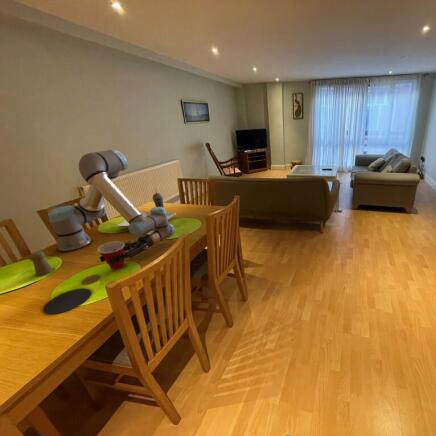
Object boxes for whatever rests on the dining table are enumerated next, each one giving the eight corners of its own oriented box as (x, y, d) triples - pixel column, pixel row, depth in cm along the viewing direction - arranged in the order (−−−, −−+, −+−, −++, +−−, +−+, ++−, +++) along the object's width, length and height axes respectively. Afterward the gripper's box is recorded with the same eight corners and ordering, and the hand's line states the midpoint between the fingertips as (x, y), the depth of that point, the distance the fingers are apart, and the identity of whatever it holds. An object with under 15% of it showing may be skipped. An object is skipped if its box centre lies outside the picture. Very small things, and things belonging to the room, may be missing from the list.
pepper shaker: (52, 267, 122) (43, 248, 118) (54, 271, 118) (45, 252, 114) (35, 272, 118) (25, 253, 113) (37, 277, 114) (27, 257, 110)
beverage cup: (155, 213, 190) (148, 189, 182) (157, 210, 196) (151, 187, 189) (165, 212, 192) (159, 188, 184) (166, 209, 198) (161, 186, 190)
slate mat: (35, 307, 96) (35, 307, 96) (78, 285, 108) (78, 285, 108) (56, 318, 90) (55, 318, 90) (98, 293, 103) (98, 293, 103)
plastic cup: (117, 274, 115) (109, 252, 110) (99, 271, 117) (91, 250, 112) (136, 262, 125) (129, 241, 120) (119, 259, 127) (112, 239, 122)
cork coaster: (79, 282, 111) (79, 281, 110) (93, 274, 116) (93, 274, 115) (87, 285, 108) (86, 284, 108) (101, 277, 113) (101, 277, 113)
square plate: (153, 232, 158) (152, 227, 157) (117, 230, 162) (115, 225, 161) (177, 217, 183) (176, 212, 181) (145, 215, 187) (144, 210, 186)
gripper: (162, 249, 131) (121, 272, 112) (138, 242, 138) (95, 263, 119) (159, 236, 128) (116, 258, 109) (135, 231, 135) (90, 250, 116)
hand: (105, 261), depth 114 cm, fingers closed on plastic cup, 6 cm apart
